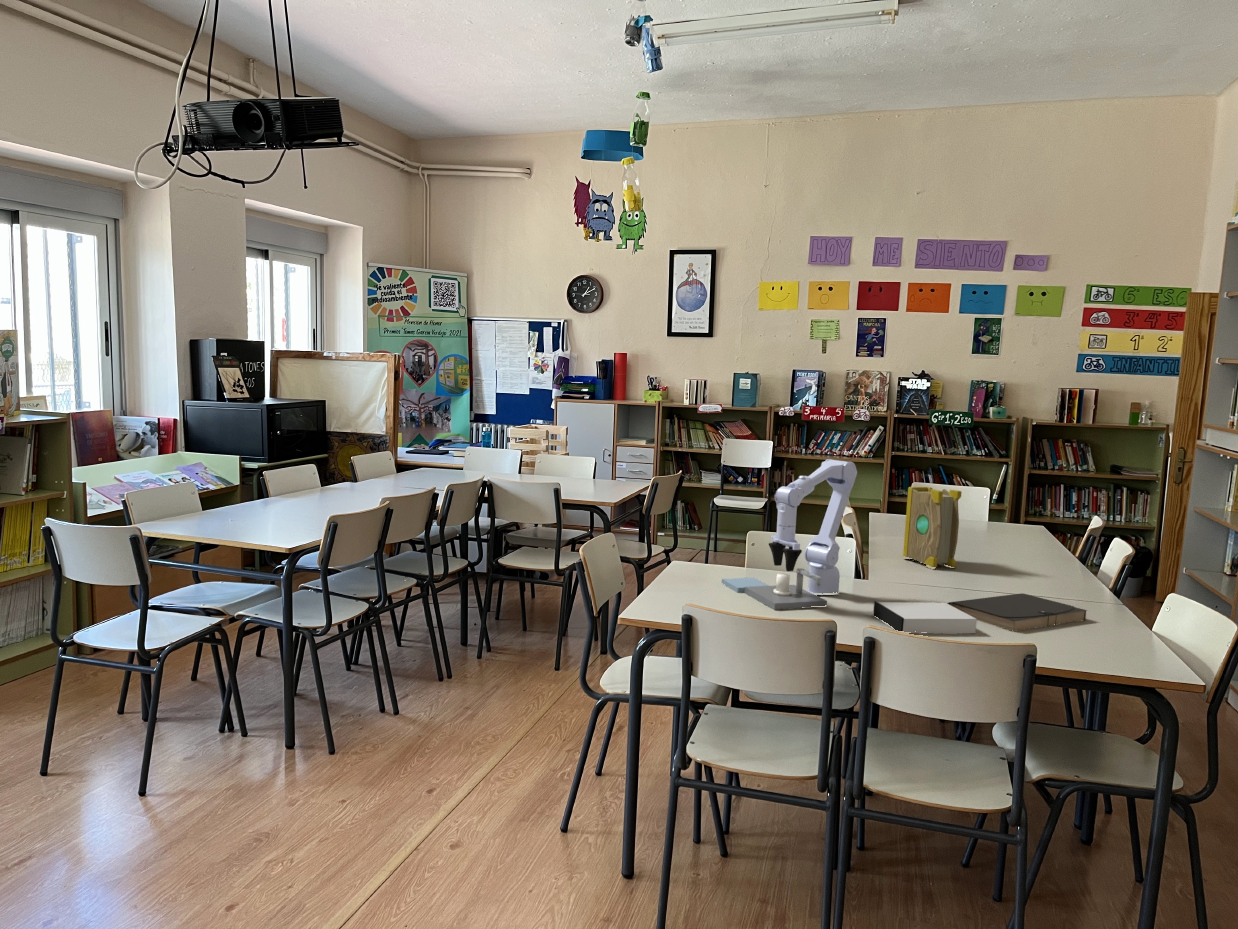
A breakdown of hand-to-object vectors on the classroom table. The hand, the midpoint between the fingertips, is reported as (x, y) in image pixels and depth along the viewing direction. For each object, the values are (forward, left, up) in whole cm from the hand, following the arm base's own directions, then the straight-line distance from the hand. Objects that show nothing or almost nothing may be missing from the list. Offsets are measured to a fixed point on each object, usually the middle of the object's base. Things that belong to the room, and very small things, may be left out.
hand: (783, 568), depth 262 cm
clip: (-6, +5, -3) cm, 8 cm away
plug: (0, 0, -10) cm, 10 cm away
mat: (+4, -17, -10) cm, 20 cm away
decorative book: (-86, -39, -10) cm, 95 cm away
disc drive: (-29, +31, -11) cm, 44 cm away
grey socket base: (-1, 0, -10) cm, 10 cm away
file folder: (-65, +28, -11) cm, 72 cm away
